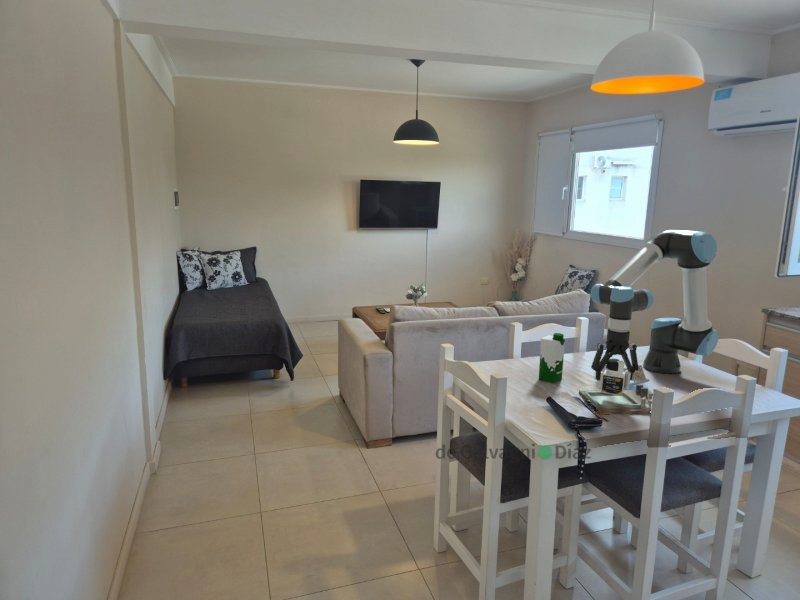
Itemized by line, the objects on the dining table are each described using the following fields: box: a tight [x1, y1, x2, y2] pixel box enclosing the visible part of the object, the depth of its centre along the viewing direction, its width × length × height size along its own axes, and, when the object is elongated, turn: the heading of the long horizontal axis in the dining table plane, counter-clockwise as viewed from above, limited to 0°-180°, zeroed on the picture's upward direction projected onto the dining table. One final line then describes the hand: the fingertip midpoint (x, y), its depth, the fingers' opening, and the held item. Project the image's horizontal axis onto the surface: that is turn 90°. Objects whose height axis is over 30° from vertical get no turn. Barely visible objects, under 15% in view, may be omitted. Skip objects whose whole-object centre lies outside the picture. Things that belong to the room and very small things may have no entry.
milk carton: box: [538, 332, 567, 384], centre depth 224 cm, size 9×9×20 cm
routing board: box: [578, 384, 654, 415], centre depth 202 cm, size 28×20×4 cm
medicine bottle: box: [601, 358, 626, 396], centre depth 198 cm, size 7×7×12 cm
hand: (612, 388), depth 199 cm, fingers closed on medicine bottle, 9 cm apart
